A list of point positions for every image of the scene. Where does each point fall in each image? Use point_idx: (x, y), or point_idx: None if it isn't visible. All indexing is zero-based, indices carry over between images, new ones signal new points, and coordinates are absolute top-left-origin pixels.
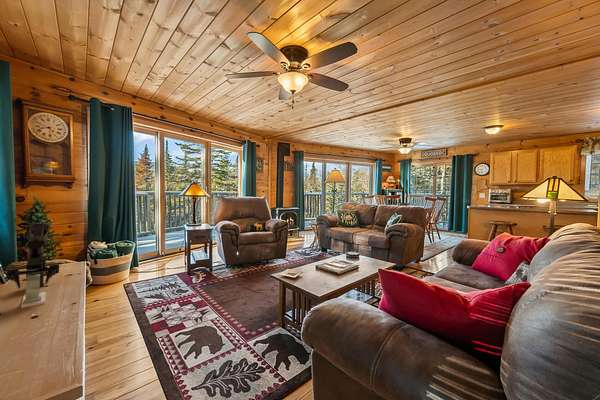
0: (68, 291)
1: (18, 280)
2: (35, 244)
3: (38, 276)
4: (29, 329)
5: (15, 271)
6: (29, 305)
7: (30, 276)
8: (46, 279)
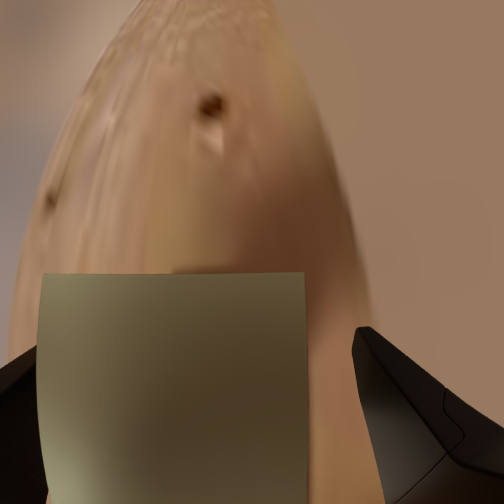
0: None
1: (429, 402)
2: None
3: (60, 276)
4: (227, 32)
5: None
6: None
7: (216, 389)
8: (34, 360)
